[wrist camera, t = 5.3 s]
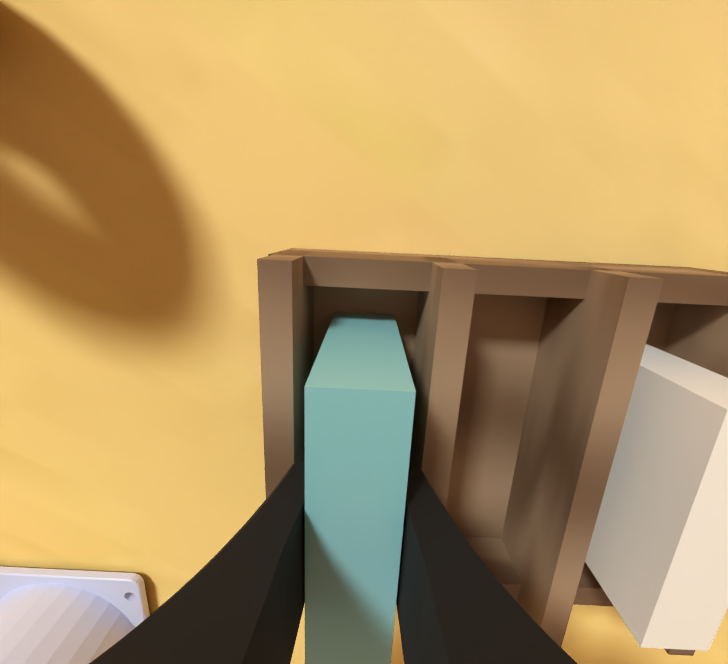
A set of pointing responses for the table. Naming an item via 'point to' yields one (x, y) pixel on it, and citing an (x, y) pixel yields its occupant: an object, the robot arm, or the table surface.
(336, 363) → the teal upright slab
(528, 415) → the rack
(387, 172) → the table surface
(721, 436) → the off-white rectangular block
